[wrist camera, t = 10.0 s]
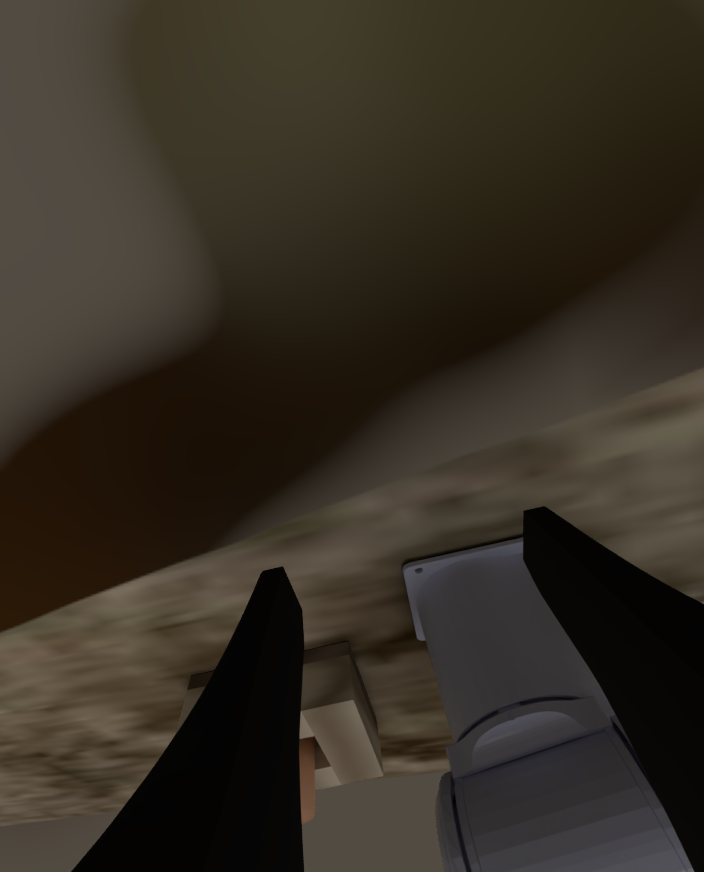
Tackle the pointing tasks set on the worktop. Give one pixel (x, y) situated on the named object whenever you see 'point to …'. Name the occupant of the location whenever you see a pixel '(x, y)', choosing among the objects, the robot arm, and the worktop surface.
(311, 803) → the peg
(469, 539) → the worktop surface
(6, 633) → the worktop surface
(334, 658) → the socket block
